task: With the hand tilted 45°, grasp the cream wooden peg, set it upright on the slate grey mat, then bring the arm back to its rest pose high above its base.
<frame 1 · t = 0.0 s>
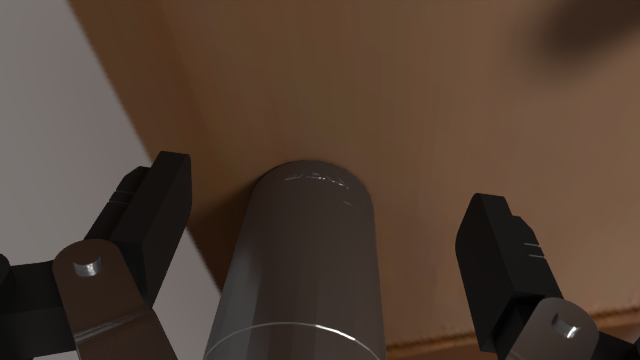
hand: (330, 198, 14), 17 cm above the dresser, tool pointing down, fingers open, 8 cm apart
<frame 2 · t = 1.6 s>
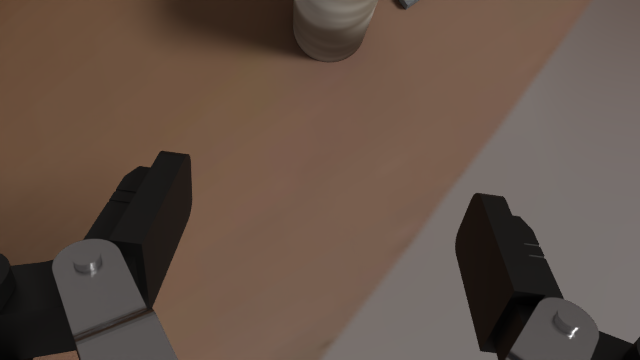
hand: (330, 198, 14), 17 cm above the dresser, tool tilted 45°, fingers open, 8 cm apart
cream peg: (329, 27, 32), on the dresser
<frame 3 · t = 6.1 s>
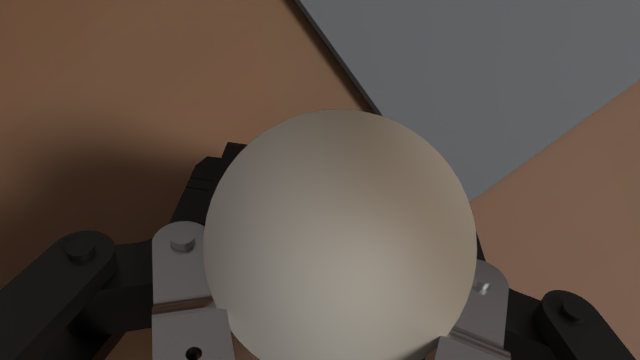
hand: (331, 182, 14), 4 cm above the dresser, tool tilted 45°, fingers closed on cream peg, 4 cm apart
cream peg: (315, 245, 18), on the dresser, touching gripper
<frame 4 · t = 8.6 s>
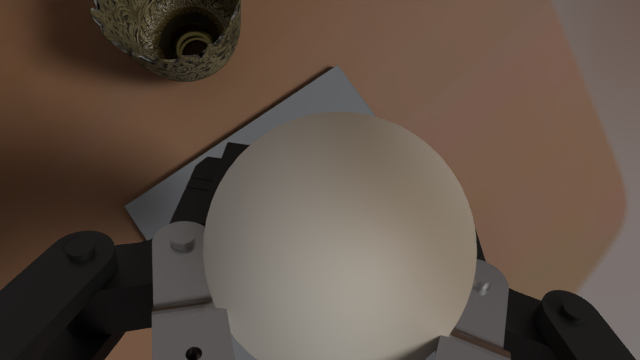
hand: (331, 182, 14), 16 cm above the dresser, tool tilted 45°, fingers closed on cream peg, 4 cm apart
cream peg: (315, 247, 18), point 12 cm above the dresser, touching gripper
cup: (197, 54, 31), on the dresser
slate mat: (307, 238, 30), on the dresser
when the fingers open (6 cm above the dresser, at t = 11.3 s): cream peg drops 1 cm, resting on slate mat.
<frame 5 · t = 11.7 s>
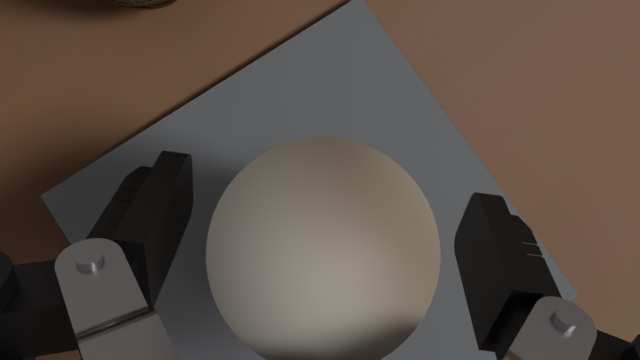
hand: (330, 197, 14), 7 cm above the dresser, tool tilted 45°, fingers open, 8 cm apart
cream peg: (309, 249, 20), point 1 cm above the dresser, touching slate mat
slate mat: (313, 246, 20), on the dresser
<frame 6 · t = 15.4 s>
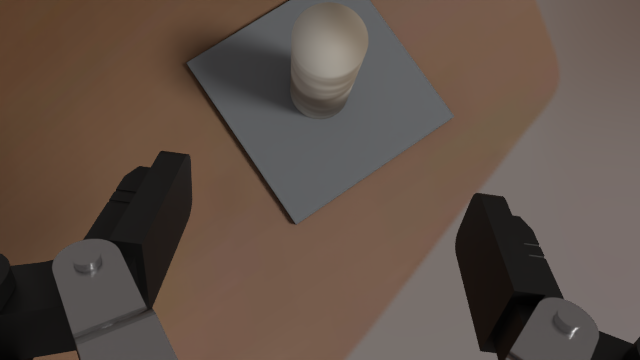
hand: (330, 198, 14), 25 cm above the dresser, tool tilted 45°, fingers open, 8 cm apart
cream peg: (319, 91, 39), point 1 cm above the dresser, touching slate mat
slate mat: (321, 92, 40), on the dresser
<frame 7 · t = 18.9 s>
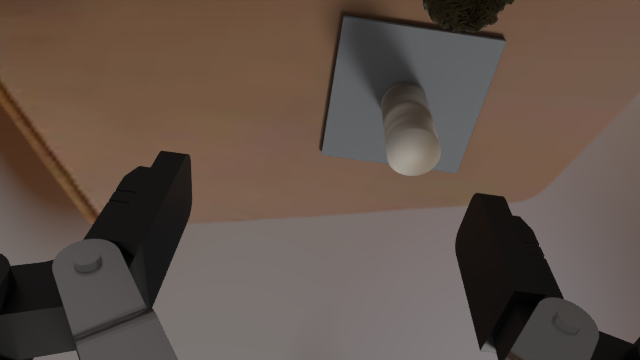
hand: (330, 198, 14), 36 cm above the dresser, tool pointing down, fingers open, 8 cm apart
cream peg: (403, 102, 51), point 1 cm above the dresser, touching slate mat
slate mat: (405, 100, 51), on the dresser
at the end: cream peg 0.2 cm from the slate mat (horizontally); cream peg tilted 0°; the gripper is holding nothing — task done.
